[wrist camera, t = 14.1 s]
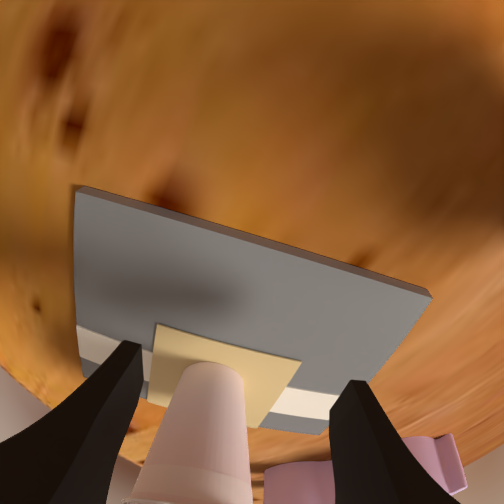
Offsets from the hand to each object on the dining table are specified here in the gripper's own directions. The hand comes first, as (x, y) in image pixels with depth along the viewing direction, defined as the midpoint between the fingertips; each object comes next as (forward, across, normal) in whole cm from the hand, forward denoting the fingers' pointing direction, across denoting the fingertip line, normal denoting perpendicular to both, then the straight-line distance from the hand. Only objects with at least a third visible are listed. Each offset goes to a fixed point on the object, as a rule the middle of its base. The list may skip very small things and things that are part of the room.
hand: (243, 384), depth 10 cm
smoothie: (+5, +1, +7) cm, 9 cm away
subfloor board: (+6, 0, +4) cm, 7 cm away
